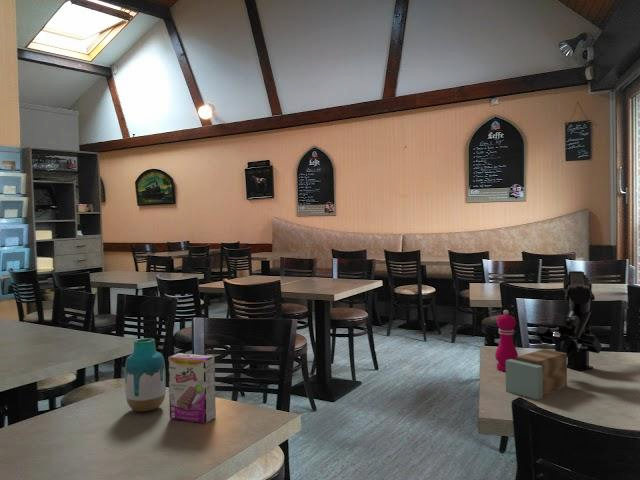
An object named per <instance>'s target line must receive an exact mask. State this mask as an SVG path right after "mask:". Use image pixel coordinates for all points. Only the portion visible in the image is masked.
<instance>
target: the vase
mask: <svg viewBox="0 0 640 480" xmlns="http://www.w3.org/2000/svg"><path fill="white" fill-rule="evenodd" d="M165 362H166V361H165V358H164V356H163V354H162V353H161V352H159V351H157V349H156V342H155V338H152V337H145V338H143V337H142V338H137V339H135V340H134V341H133V351H132V354H130V355H129V356H128V357H126V359H125V364H124V390H125V398H126V399H125V400H126V403H127V405H128V407H129V409H131V410H133V411H136V412H142V413H143V412H150V411H153V410H154V411H155V409H158V408H159V407H161V405H163V402H164V401H165V399H166V398H165V397H166V390H167V389H166V387H167V380H166V379H167V376H166V374H167V373H166V364H165Z"/></svg>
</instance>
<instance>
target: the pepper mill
mask: <svg viewBox="0 0 640 480" xmlns="http://www.w3.org/2000/svg"><path fill="white" fill-rule="evenodd" d="M496 324H497V327H498V334H499V344H498V346H497V348H496V350H495V354H494V357H495V359H496V361H497V362H496V370H498V371H500V372H505V373H506V360H509V359H513V360H516V357H517V356H519V354H518V351H517V349H516V346H515V344H514V339H513V338H514V334H515V329H514V328H515V327H516V326H517V325H516V324H517V323H516V319H515V317H514V316H513V315H510V311H509V310H508V309H504V310H503V314H501V315H500V314H499V316H498V317H497V319H496Z"/></svg>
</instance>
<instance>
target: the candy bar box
mask: <svg viewBox="0 0 640 480" xmlns="http://www.w3.org/2000/svg"><path fill="white" fill-rule="evenodd" d="M167 359H168V363H167V364H168V390H169V391H168V392H169V393H168V394H169V395H168V397H169V401H168V402H169V419H170V420H174V419H176V420H175V421H181V420H182V421H183V422H189V421H190V422H191V423H197V422H198V423H199V424H209V423H210V422H212V420H214V419H215V418H216V417H217V415H216V414H217V411H216V406H217V405H216V377H215V376H216V375H215V374H216V372H215V371H216V369H215V368H216V366H215V365H216V364H215V361H216V360H215V356H214V355H209V354H208V355H207V354H206V355H205V354H193V353H184V352H183V353H182V352H178V353H175V354H172V355H170V356H168V358H167ZM182 421H181V422H182ZM209 421H210V422H209ZM208 422H209V423H208Z"/></svg>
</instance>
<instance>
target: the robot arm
mask: <svg viewBox="0 0 640 480" xmlns="http://www.w3.org/2000/svg"><path fill="white" fill-rule="evenodd" d="M589 279H590V278H589V277H588V276H587V275H585V271H582V270H570V271H568V274H567V275H565V276H564V277H563V279H562V281H563V282H562V283H563V290H562V291H563V292H565V302H567V304H568V305H569V311H568V313H567V315H561V314H553V316H552V320H551V323H550V324H551V326H555V330H556V331H554V332H553V331H552V329H551V328H550V327H544V326H538V327H537V328H536V330H535V331H534V333H535V335H536V336H537V338H538V339H539V341H540V342H541V343H542V344H545V345H553V344H554V349H555V350H554V351H557V352H563V353H567V368H569V369H573V370H577V371H579V372H580V371H586V370H587V371H588V370H591V369H594V366H592V365H590V353H595V354H600V352H601V350H602V344H601V342H600V341H599V339H598V338H597V336H596V335H595V334H594V333H593V332H591V327H590V322H589V321H588V320H589V317H590V315H591V313H592V311H591V303H593V302H594V301H595V294H594V293H593V291H592V290H590V280H589Z"/></svg>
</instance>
